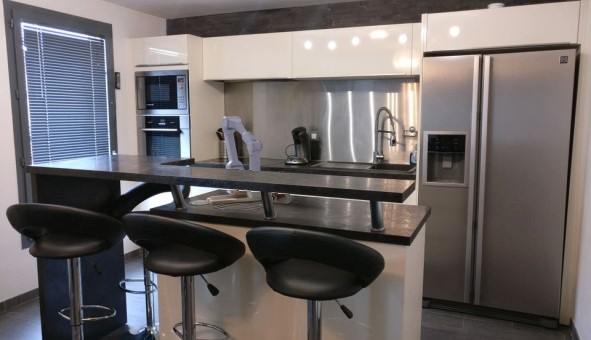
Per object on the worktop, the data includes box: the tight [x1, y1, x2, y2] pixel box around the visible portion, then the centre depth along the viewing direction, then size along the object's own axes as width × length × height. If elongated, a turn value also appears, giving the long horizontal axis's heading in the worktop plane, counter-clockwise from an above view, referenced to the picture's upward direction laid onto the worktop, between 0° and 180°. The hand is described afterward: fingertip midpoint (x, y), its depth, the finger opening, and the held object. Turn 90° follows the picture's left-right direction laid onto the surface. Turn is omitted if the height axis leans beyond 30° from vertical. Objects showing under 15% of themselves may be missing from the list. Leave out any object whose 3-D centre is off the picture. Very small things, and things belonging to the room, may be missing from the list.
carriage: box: [230, 190, 247, 198], centre depth 242 cm, size 6×7×7 cm
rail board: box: [206, 194, 262, 205], centre depth 242 cm, size 10×30×3 cm, turn 115°
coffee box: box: [271, 170, 292, 205], centre depth 236 cm, size 9×6×16 cm
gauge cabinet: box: [246, 190, 261, 198], centre depth 246 cm, size 8×7×4 cm
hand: (255, 187), depth 245 cm, fingers closed, pressing on plunger
